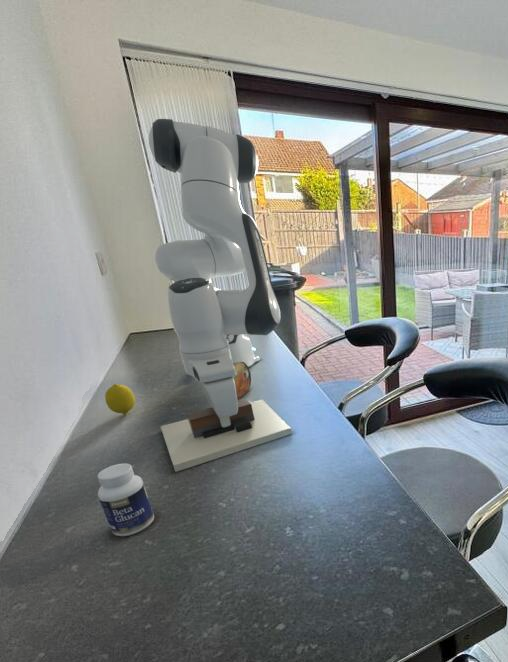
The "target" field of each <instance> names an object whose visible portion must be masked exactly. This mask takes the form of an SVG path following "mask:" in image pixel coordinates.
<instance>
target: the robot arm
mask: <svg viewBox="0 0 508 662" xmlns="http://www.w3.org/2000/svg"><path fill="white" fill-rule="evenodd" d="M151 125H152V126H151V128H150V130H149V133H148V146H149V150H150V152H151V154H152V156H153V158H154V161H155V163H156V164H157V165H158V166H159V167H161V168H163V169H164V170H166V171H169V172H171V173H174V174H176V173H180V197H181V212H182V213H181V214H182V217H183V219H184V221H185V223H186V224H187V225H189V226H190V228H193V229H194V230H195V231H198V232H200V233H203V234H204V238H202V239H180V240H174V241H169V242H165V243H162V244H159V246H158V247H157V249H156V250H155V255H154V261H155V264H156V267H157V269H158V270H159V272H160V273H161V274H162V275H163V277H165V278H167V279H168V280H171V281H172V282H173V283H172V284H170V285H169V286H168V288H167V302H168V309H169V314H170V315H169V316H170V319H171V324H172V328H173V330H174V332H175V334H176V335H177V338H178V341H179V354H180V356H181V360H182V365H183V368H184V371H185V374H186V375H187V376H191V377H193V378H194V380H195V381H196V382H197V383H198V386H199V389H200V391H201V393H202V394H203V396H204V397H205V399H206V401H207V402H208V404H209V405H210V406H211V407H212V408H213V410H214V411H215V413H216V414H217V416H218V417H219V421H220V424H221V426H222V427H227V426H230V425H231V422H230V416H233V415H236V414H237V413H238V400H237V394H236V387H235V382H234V378H233V376H236V370H235V367H234V364H233V363H237V362H244V363H246V365H247V366H248V368H249V367H251V366H253V365H254V364H255V363H257V362H259V361H261V358H260V356H258V355H255V353H254V351H256V348H255V347H253V346H252V342H251V338H250V337H249V336H251V335H252V336H268V335H270V334H271V333H272V332H273V331H275V330H276V328H277V327H278V326H279V325H280V324H281V309H280V305H279V302H278V299H277V296H276V293H275V289H274V287H273V286H274V285H273V281H272V278H271V273H270V270H269V269H270V268H269V266H268V261H267V257H266V256H267V255H266V252H265V248H264V246H263V245H264V244H263V240H262V237H261V234H260V231H259V227H258V226H257V223H256V222H255V220H254V218H253V217H252V216H251V215H250V214H248V213H246V212H245V211H244V209H243V207H242V204H241V200H240V188H239V185H240V184H241V185H242V184H249V183H251V182H252V181H254V179H255V176H256V174H257V172H258V168H259V159H258V154H257V152H256V147H255V145H254V144H253V142H252V141H251V140H250V139H248V138H247V137H245V136H242V135H240V134H238V133H237V134H234V133H231V132H228V131H225V130H222V129H219V128H216V127H212V126H208V125H201V124H196V123H190V122H184V121H175V120H173V118H172V119H171V118H157V119H155V120H154V121H153V122H152V124H151ZM242 273H246V275H247V280H248V286H247V288H245V289H220V288H218V287H215V285H214V283H213V280H212V279H214V278H215V279H217V278H225V277H233V276H236V275H240V274H242ZM248 335H249V336H248ZM211 407H210V408H211Z"/></svg>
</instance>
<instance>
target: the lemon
mask: <svg viewBox="0 0 508 662" xmlns="http://www.w3.org/2000/svg"><path fill="white" fill-rule="evenodd" d="M104 396H105V397H104V400H105V403H106V407H108V408H109V410H110V411H112V412H113V413H117V414H122V415H127V414H128V413H129V412H130V411H131V410H132V409H133V408H134V406H135V404H136V397H135V395H134V392H133V391H132V389H130V388H129V387H128V386H126V385H124V384H118V383H114V384H113V385H111V386H110V387H109V388H108V389H107V390H106V392H105V395H104Z"/></svg>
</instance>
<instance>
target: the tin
mask: <svg viewBox="0 0 508 662" xmlns="http://www.w3.org/2000/svg"><path fill="white" fill-rule="evenodd" d="M233 364H234V367H235V370H236V376H233V378H234V382H235V387H236V394H237V401H238V400H240V398H242V397H243V396H244V395H245V394H246V393H247V392H248V391H249V390H250V388H251V384H252V375H251V371H250V368H249V367H248V366H247V365H246V363H244V362H237V363H233Z"/></svg>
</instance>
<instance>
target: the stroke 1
mask: <svg viewBox="0 0 508 662" xmlns="http://www.w3.org/2000/svg"><path fill="white" fill-rule="evenodd" d="M202 434H203V437H204V438H208V437H211V436H215V435H218V434H220V432H219V429H218V428H216V429H213V430H209V431H206V432H202Z"/></svg>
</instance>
